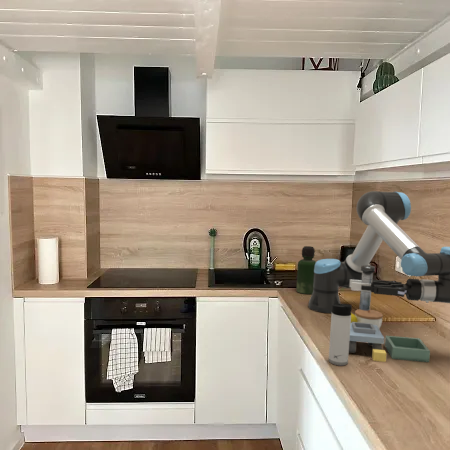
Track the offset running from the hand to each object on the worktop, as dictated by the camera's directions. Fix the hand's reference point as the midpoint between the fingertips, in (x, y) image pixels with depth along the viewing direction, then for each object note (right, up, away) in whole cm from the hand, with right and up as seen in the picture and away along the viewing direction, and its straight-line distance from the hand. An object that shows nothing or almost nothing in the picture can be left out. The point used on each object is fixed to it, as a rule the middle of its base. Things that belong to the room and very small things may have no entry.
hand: (350, 284), depth 153 cm
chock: (+7, -24, -8) cm, 27 cm away
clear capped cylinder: (+5, -9, 0) cm, 10 cm away
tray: (+19, -24, -2) cm, 31 cm away
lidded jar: (+13, -22, +20) cm, 33 cm away
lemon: (+5, -22, +19) cm, 29 cm away
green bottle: (-1, -15, +80) cm, 81 cm away
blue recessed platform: (+4, -23, +2) cm, 24 cm away
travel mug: (-7, -24, -11) cm, 28 cm away
